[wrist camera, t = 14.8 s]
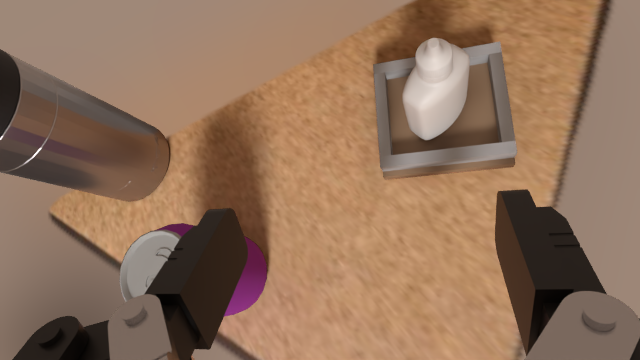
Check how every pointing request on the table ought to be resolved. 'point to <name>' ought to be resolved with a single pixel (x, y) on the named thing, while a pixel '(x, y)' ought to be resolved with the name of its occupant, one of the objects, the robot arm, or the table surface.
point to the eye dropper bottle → (436, 88)
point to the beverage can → (154, 252)
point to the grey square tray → (462, 136)
